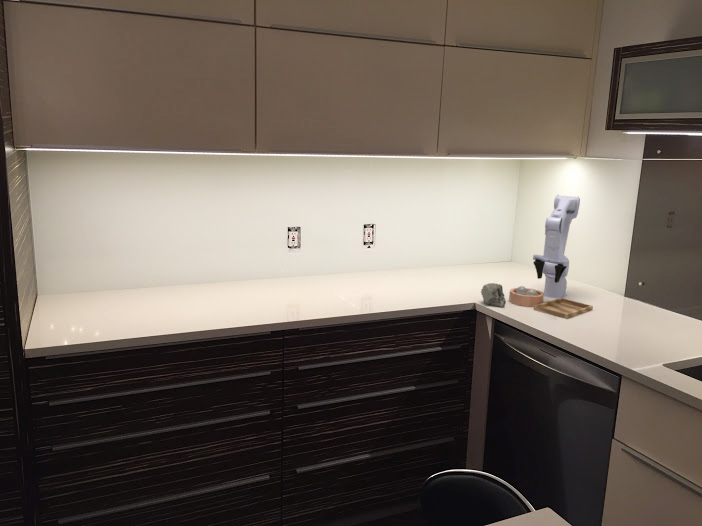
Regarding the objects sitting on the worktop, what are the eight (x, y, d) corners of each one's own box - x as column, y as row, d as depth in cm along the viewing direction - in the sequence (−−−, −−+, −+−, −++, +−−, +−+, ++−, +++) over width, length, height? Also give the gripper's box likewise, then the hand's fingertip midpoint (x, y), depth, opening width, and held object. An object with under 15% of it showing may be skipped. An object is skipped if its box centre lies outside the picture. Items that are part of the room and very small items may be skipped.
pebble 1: (520, 298, 252) (521, 284, 251) (528, 300, 249) (530, 287, 247) (513, 299, 250) (514, 285, 249) (521, 302, 246) (522, 288, 245)
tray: (560, 302, 250) (560, 297, 250) (592, 311, 240) (593, 306, 240) (533, 311, 237) (534, 305, 237) (566, 320, 227) (567, 314, 227)
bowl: (520, 297, 257) (521, 286, 256) (548, 304, 247) (550, 293, 246) (502, 302, 248) (503, 290, 247) (531, 310, 238) (532, 298, 237)
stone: (508, 281, 241) (482, 278, 244) (505, 301, 236) (479, 298, 238) (506, 294, 249) (481, 291, 251) (503, 315, 243) (478, 311, 245)
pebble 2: (528, 300, 249) (530, 287, 247) (538, 303, 245) (540, 289, 244) (523, 302, 246) (524, 288, 244) (532, 305, 242) (534, 291, 241)
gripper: (530, 245, 244) (526, 277, 247) (563, 251, 233) (559, 285, 236) (539, 243, 248) (536, 275, 251) (572, 249, 238) (568, 283, 241)
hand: (548, 280), depth 244 cm, fingers open, 7 cm apart
